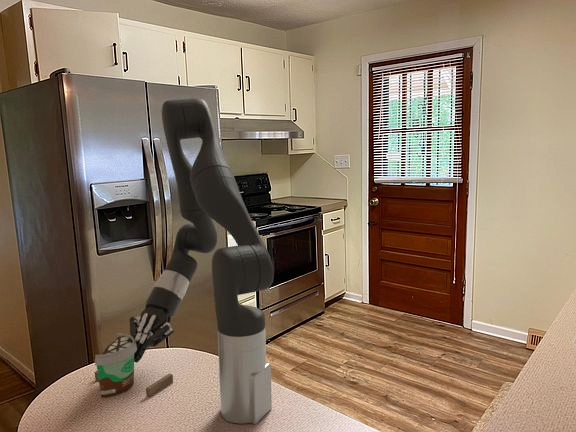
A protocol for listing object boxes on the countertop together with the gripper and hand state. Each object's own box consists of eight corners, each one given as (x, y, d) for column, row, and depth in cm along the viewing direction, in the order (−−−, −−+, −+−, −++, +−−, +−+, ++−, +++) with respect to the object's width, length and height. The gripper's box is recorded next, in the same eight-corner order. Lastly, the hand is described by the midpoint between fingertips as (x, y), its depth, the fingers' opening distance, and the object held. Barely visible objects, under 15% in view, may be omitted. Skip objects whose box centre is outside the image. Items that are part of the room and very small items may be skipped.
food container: (127, 401, 91) (123, 355, 90) (97, 401, 91) (94, 356, 90) (147, 372, 103) (144, 332, 102) (121, 372, 104) (118, 332, 102)
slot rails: (173, 382, 98) (172, 374, 98) (149, 398, 92) (149, 389, 92) (120, 367, 106) (119, 359, 106) (95, 380, 100) (94, 371, 100)
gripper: (139, 282, 108) (101, 348, 100) (180, 289, 102) (143, 360, 93) (157, 296, 114) (122, 360, 105) (196, 304, 107) (163, 373, 99)
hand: (132, 360), depth 99 cm, fingers closed
